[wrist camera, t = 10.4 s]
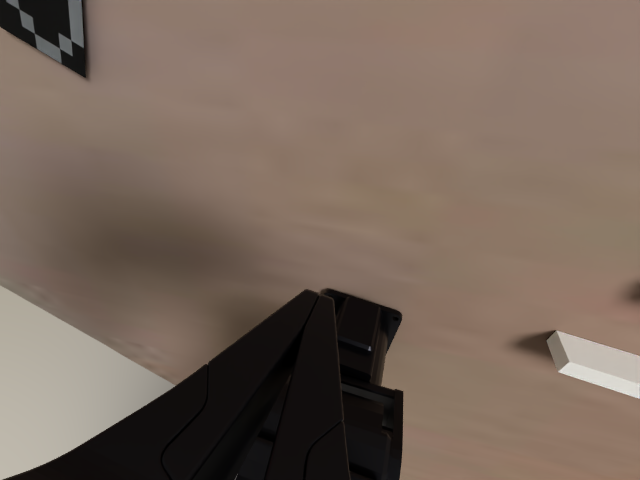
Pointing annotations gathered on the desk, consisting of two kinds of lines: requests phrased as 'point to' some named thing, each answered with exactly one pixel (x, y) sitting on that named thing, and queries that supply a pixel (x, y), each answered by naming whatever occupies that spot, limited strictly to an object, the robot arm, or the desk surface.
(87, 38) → the desk surface
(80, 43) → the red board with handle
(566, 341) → the frame
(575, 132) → the desk surface
